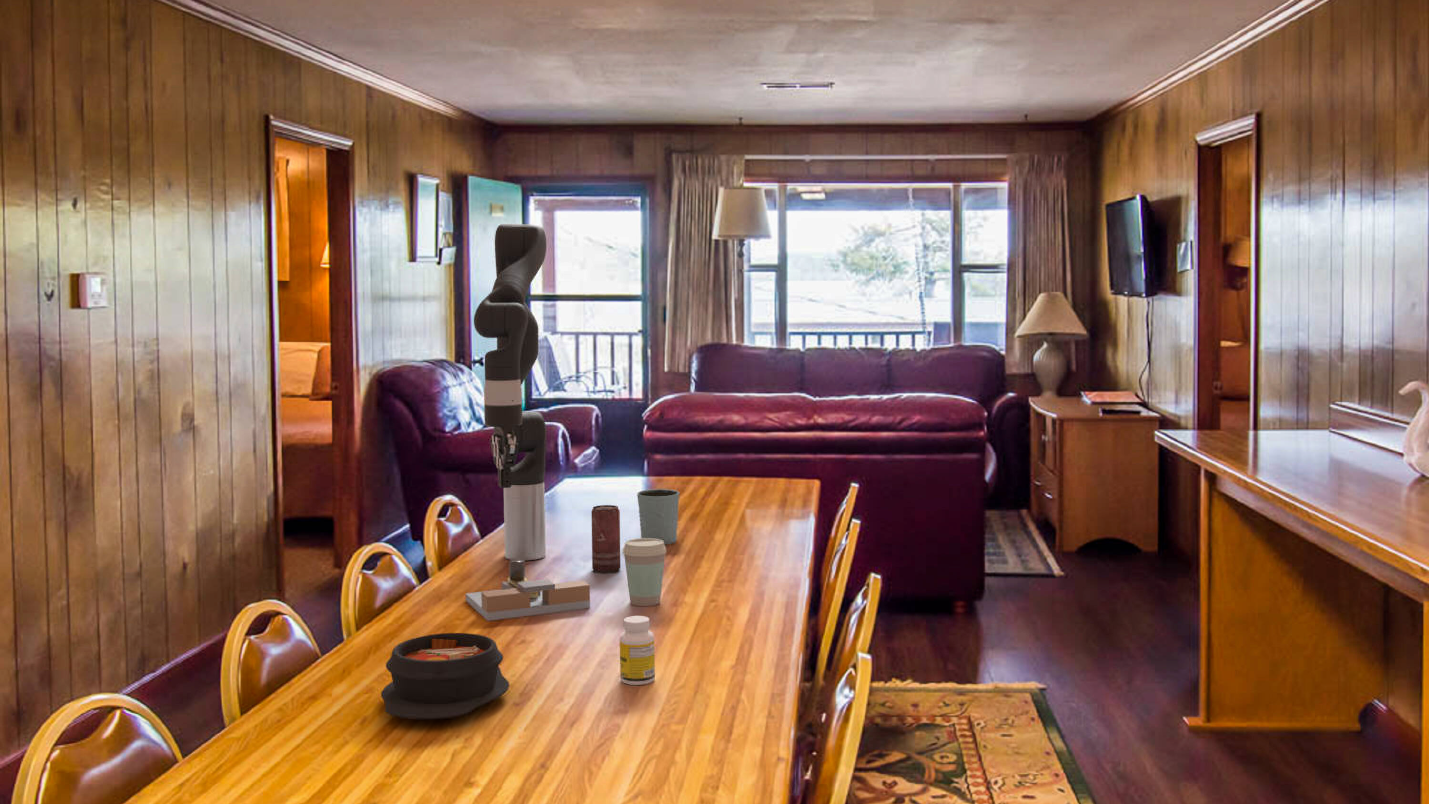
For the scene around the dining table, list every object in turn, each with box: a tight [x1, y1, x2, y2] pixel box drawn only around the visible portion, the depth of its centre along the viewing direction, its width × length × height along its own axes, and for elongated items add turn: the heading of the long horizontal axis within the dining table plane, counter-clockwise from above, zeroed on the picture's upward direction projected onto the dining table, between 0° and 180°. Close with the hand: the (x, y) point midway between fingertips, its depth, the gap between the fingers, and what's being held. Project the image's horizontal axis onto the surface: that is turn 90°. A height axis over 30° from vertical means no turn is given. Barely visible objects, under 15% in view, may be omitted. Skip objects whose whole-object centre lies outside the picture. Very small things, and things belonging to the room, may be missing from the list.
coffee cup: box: [622, 537, 667, 607], centre depth 234 cm, size 8×8×12 cm
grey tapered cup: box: [636, 488, 680, 545], centre depth 291 cm, size 10×10×12 cm
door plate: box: [465, 578, 591, 622], centre depth 233 cm, size 16×20×6 cm
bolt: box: [506, 560, 538, 598], centre depth 236 cm, size 10×3×6 cm, turn 26°
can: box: [591, 504, 621, 574], centre depth 261 cm, size 6×6×14 cm
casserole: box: [380, 632, 510, 720], centre depth 178 cm, size 25×19×8 cm
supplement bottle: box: [619, 615, 656, 686], centre depth 187 cm, size 5×5×10 cm
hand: (504, 487), depth 244 cm, fingers closed
